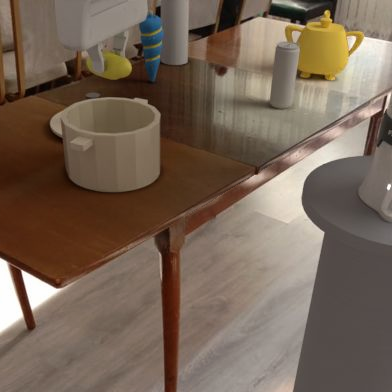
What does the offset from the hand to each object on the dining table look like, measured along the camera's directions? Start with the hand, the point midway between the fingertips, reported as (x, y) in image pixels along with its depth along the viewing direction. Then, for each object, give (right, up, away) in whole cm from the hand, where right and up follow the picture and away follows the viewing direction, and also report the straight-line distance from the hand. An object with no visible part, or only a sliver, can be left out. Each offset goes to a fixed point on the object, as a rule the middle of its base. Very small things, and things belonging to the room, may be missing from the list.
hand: (109, 66), depth 96 cm
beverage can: (+31, +8, +37) cm, 49 cm away
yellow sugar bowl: (+43, +23, +55) cm, 73 cm away
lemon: (0, -1, +1) cm, 2 cm away
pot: (-1, -13, +11) cm, 17 cm away
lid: (-6, 0, +24) cm, 25 cm away
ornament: (+3, +16, +44) cm, 47 cm away
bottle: (+8, +26, +56) cm, 62 cm away
